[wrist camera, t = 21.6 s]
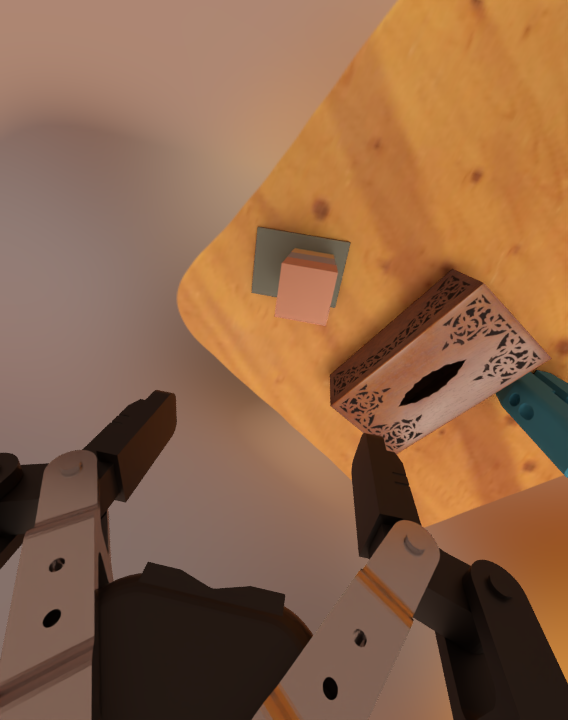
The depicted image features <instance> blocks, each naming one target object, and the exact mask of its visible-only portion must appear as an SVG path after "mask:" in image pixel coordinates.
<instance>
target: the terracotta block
mask: <svg viewBox="0 0 568 720" xmlns="http://www.w3.org/2000/svg"><path fill="white" fill-rule="evenodd" d="M337 275H338V270H337V265H333V264H327V263H321V262H315V261H309V260H304V259H298V258H292V257H287V258H286V259H285V260H284V261H283V262H282V265H281V272H280V280H279V287H278V295H277V302H276V309H275V317H280V318H285V319H291V320H296V321H302V322H307V323H312V324H318V325H323V326H326V323H327V319H328V314H329V310H330V306H331V301H332V297H333V292H334V288H335V284H336V279H337Z"/></svg>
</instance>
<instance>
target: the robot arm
mask: <svg viewBox="0 0 568 720" xmlns="http://www.w3.org/2000/svg"><path fill="white" fill-rule="evenodd" d="M176 418H177V417H176V396H175V394H174V393H169V392H164V391H160V390H155V391H154V392H153V393H152V394H151V395H150V396H149V397H148V398H147V399H146V400H142V399H140V400H138V401H136V402H134V403H132V404H130V405H128V406H127V407H126V408H125V409H124V410H123V411H122V412H121V413H120V414H119V416H117V417H116V418H115V419H114V420H113V421H112V423H110V424H109V425H107V427H105V428H104V429H103V430H102V431H101V432H100V433H99V434H98V435H97V436H96V437H95V438H94V439H93V440H92V441H91V442H90V443H89V444H88V445H87V446H86V447H85V448H84V449H82V450H75V451H70V452H67V453H65V454H62V455H60V456H58V457H57V458H55V459H54V460H53V461H51V462H50V463H48V464H30V465H20V463H19V460H18V458H17V457H16V456H15V455H13V454H10V453H0V569H1V568H2V567H3V565H4V564H5V563H6V562H7V560H9V558H10V557H11V556H12V555H13V554H14V553H15V551H16V550H17V549H18V548H19V547H20V546H21V544H22V543H23V544H22V550H21V555H20V560H19V565H18V570H17V576H16V581H15V586H14V591H13V596H12V602H11V607H10V612H9V617H8V622H7V627H6V633H5V638H4V643H3V648H2V653H1V659H0V720H368V719H369V717H370V715H371V713H372V711H373V709H374V706H375V704H376V702H377V700H378V698H379V696H380V693H381V691H382V689H383V687H384V685H385V683H386V680H387V678H388V676H389V674H390V672H391V670H392V668H393V665H394V663H395V661H396V659H397V657H398V655H399V652H400V650H401V648H402V646H403V644H404V642H405V640H406V637H407V635H408V633H409V631H410V628H411V626H412V623H413V619H412V618H415V619H417V620H418V621H420V622H422V623H423V624H425V625H426V626H428V627H429V628H431V629H433V630H434V631H435V634H436V639H437V644H438V648H439V653H440V657H441V662H442V667H443V672H444V677H445V681H446V686H447V691H448V696H449V700H450V705H451V709H452V714H453V719H454V720H568V683H567V681H566V679H565V677H564V675H563V673H562V670H561V668H560V666H559V664H558V662H557V660H556V658H555V656H554V653H553V651H552V649H551V647H550V645H549V643H548V641H547V639H546V637H545V635H544V632H543V630H542V628H541V626H540V624H539V622H538V620H537V617H536V615H535V613H534V611H533V609H532V607H531V605H530V603H529V601H528V598H527V596H526V594H525V593H524V591H523V589H522V588H521V586H520V585H519V583H518V582H517V581H516V580H515V579H514V578H513V577H512V576H511V575H510V574H509V573H508V572H507V571H506V570H505V569H503V568H502V567H500V566H499V565H497V564H495V563H493V562H490V561H487V560H477V561H475V562H474V563H473V564H472V566H470V565H468V564H466V563H464V562H462V561H460V560H459V559H457V558H455V557H453V556H451V555H449V554H447V553H446V552H444V551H442V550H441V549H440V548H438V545H437V543H436V541H435V539H434V538H433V537H432V535H431V534H430V533H429V532H428V531H427V530H426V529H425V528H423V527H422V526H421V523H420V519H419V516H418V513H417V509H416V506H415V503H414V499H413V496H412V493H411V489H410V487H409V483H408V479H407V477H406V473H405V469H404V466H403V463H402V462H401V460H400V459H399V458H398V456H397V455H396V454H395V452H392V451H387V450H386V446H385V442H384V438H383V437H382V436H378V435H373V434H368V433H363V435H362V437H361V439H360V442H359V445H358V448H357V451H356V453H355V456H354V459H353V463H352V484H353V496H354V506H355V516H356V528H357V539H358V550H359V556H360V557H364V558H368V559H369V561H368V563H367V564H366V565H365V567H364V568H363V569H361V570H360V571H359V572H358V574H357V575H356V576H355V578H354V579H353V580H352V582H351V583H350V585H349V586H348V587H347V589H346V590H345V592H344V593H343V594H342V596H341V597H340V599H339V600H338V602H337V603H336V604H335V606H334V607H333V609H332V610H331V611H330V613H329V614H328V616H327V617H326V618H325V620H324V621H323V623H322V624H321V625H320V627H319V628H318V630H317V631H316V632H315V634H314V635H313V634H312V633H311V631H310V630H309V628H308V627H307V626H306V625H305V623H304V622H303V621H302V620H301V619H300V618H299V617H298V616H297V615H296V614H294V613H293V612H292V611H291V610H289V609H288V608H286V607H284V601H285V594H282V593H277V592H273V591H269V590H265V589H260V588H256V587H252V586H247V587H234V588H220V589H213V588H210V587H208V586H206V585H205V584H203V583H202V582H200V581H198V580H197V579H195V578H194V577H192V576H190V575H189V574H187V573H186V572H184V571H182V570H180V569H175V568H172V567H167V566H163V565H159V564H155V563H151V562H148V563H147V565H146V567H145V569H144V571H143V573H139V574H134V575H129V576H126V577H123V578H120V579H117V580H115V581H113V573H112V565H111V552H110V528H109V511H108V508H109V506H110V505H111V504H112V502H113V501H114V500H118V501H122V502H126V501H127V500H128V499H129V497H130V496H131V494H132V493H133V491H134V490H135V489H136V487H137V486H138V484H139V483H140V481H141V480H142V479H143V477H144V475H145V474H146V473H147V471H148V470H149V468H150V467H151V466H152V464H153V463H154V461H155V460H156V458H157V457H158V456H159V454H160V453H161V451H162V450H163V448H164V447H165V446H166V444H167V443H168V441H169V440H170V438H171V437H172V435H173V434H174V431H175V428H176V422H177V419H176Z"/></svg>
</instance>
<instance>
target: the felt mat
mask: <svg viewBox="0 0 568 720" xmlns="http://www.w3.org/2000/svg"><path fill="white" fill-rule="evenodd" d="M349 247H350V242H345V241H340V240H334V239H328V238H322V237H316V236H310V235H304V234H298V233H292V232H286V231H280V230H275V229H269V228H263V227H258V229H257V240H256V250H255V261H254V272H253V283H252V293H256V294H261V295H267V296H272V297H277V295H278V287H279V280H280V272H281V265H282V262H283V261H284V260H285V259H286V258H287V256H288V255H289V254H290V253H291V252H292V250H293V249H294V248H298V249H304V250H309V251H315V252H321V253H327V254H333V255H334V259H335V263H336V265H337V270H338V275H337V279H336V284H335V288H334V292H333V297H332V301H331V306H330V307H333V308H335V306H336V302H337V297H338V293H339V289H340V285H341V281H342V276H343V272H344V268H345V264H346V259H347V255H348V251H349Z"/></svg>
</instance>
